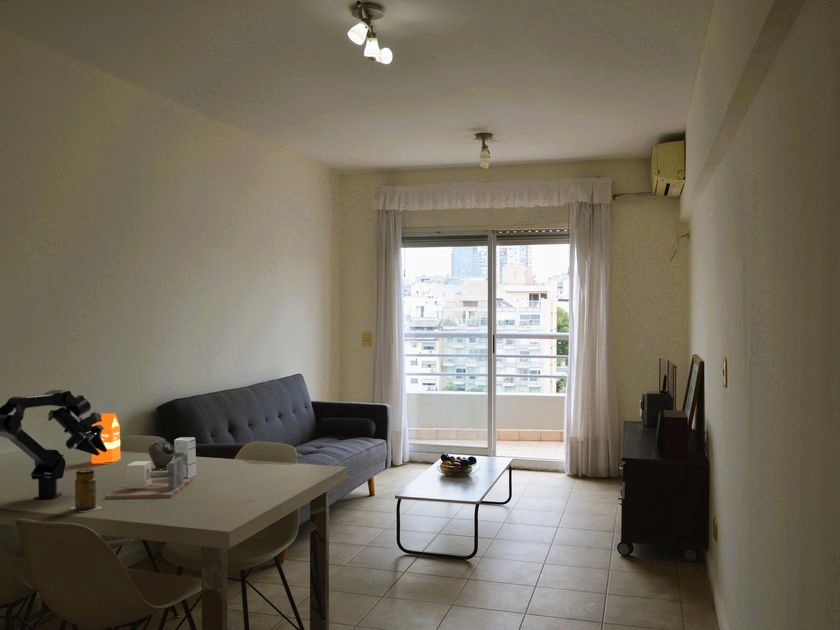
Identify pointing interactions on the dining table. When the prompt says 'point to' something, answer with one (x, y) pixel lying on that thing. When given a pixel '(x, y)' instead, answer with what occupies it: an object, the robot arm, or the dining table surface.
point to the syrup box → (186, 455)
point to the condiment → (85, 491)
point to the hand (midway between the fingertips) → (102, 453)
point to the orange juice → (109, 439)
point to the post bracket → (157, 484)
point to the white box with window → (138, 474)
